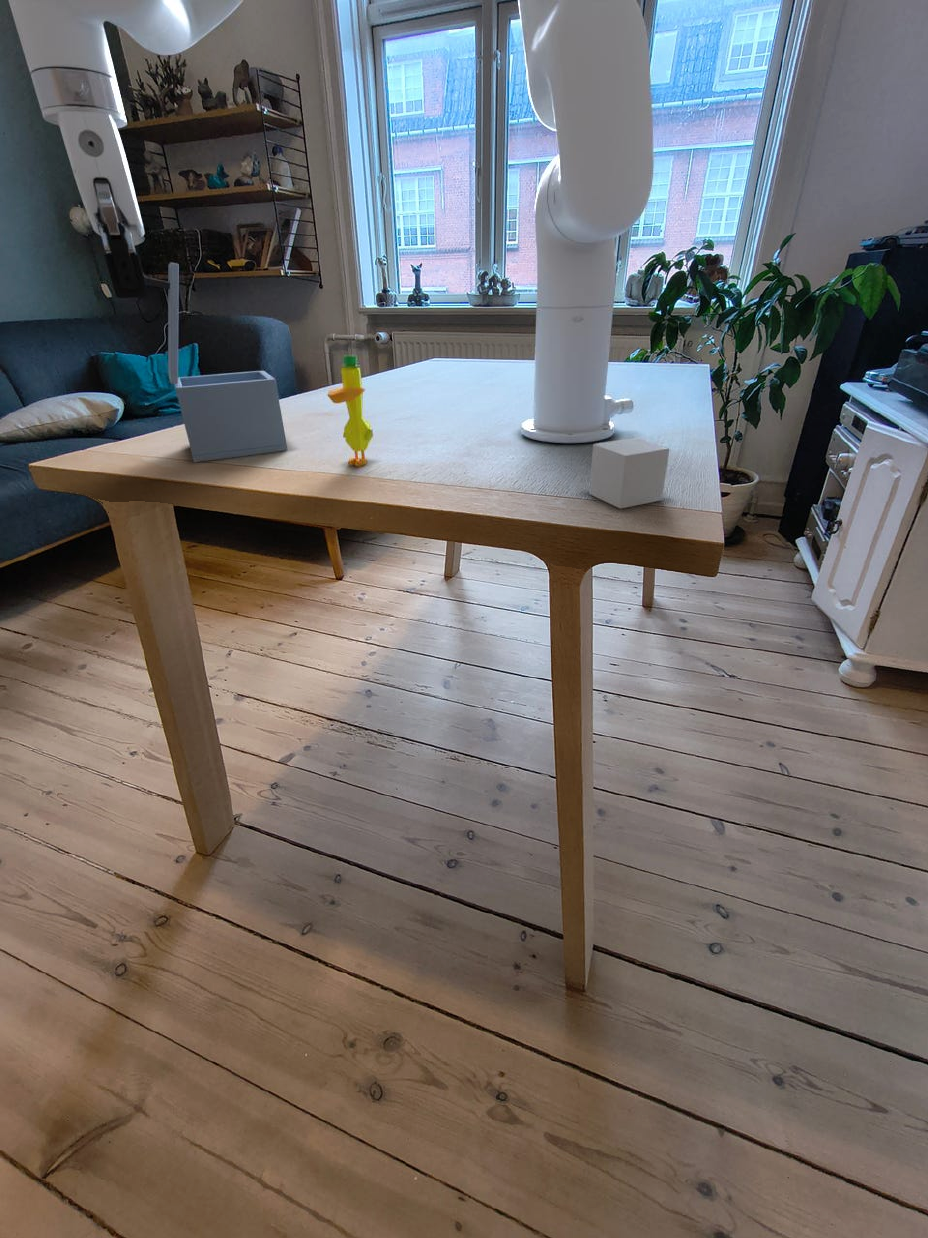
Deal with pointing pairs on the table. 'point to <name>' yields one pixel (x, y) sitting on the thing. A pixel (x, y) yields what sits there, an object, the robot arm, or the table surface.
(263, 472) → the table surface
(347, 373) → the toy figure
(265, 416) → the grey storage bin
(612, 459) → the pale grey cube
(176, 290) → the box lid
